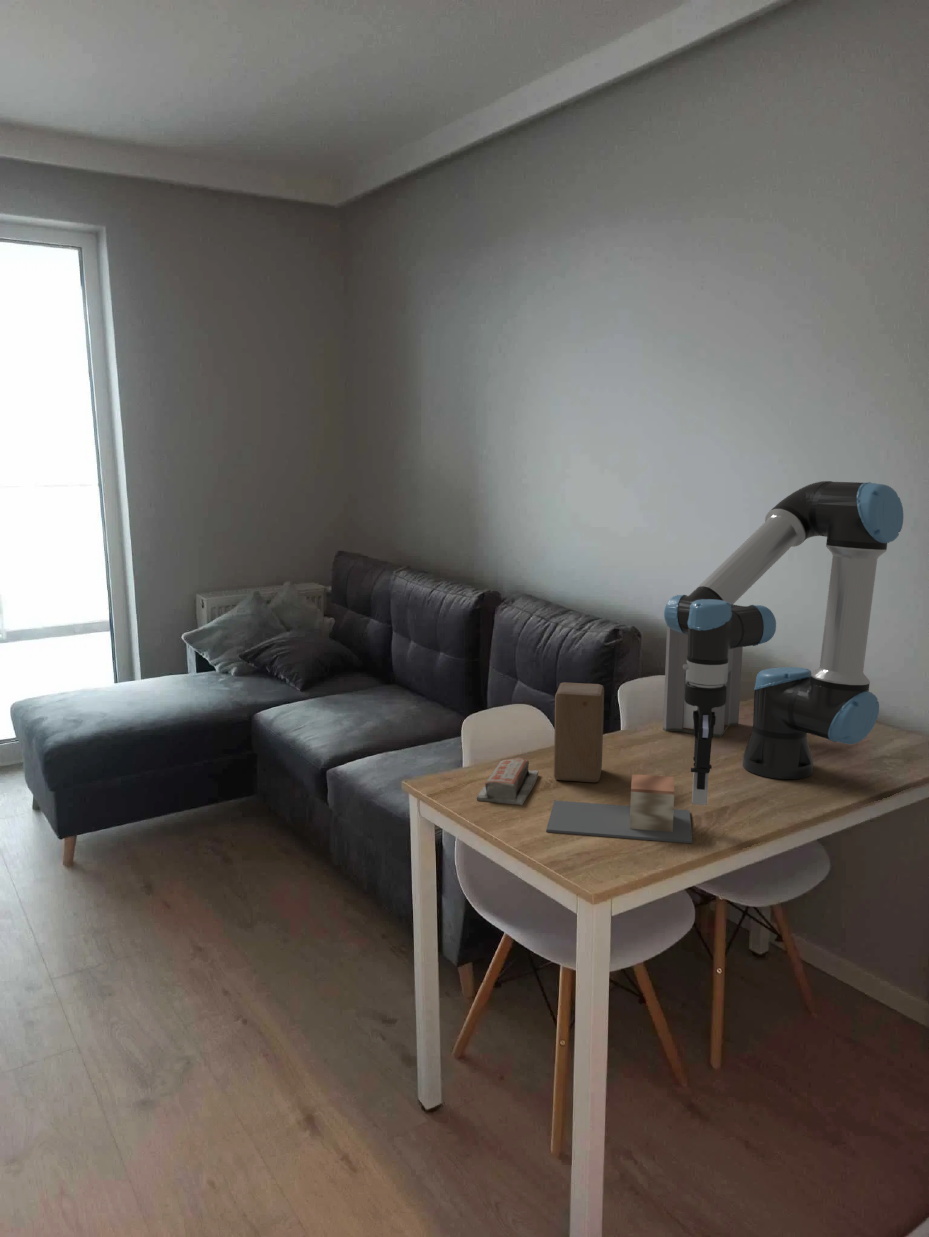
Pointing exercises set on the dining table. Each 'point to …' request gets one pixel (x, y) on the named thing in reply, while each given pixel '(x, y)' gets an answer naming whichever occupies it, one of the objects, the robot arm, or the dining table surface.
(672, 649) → the cabinet
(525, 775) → the packaged product
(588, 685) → the wooden block
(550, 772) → the dining table surface
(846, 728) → the robot arm
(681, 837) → the rubber mat
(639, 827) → the cube
